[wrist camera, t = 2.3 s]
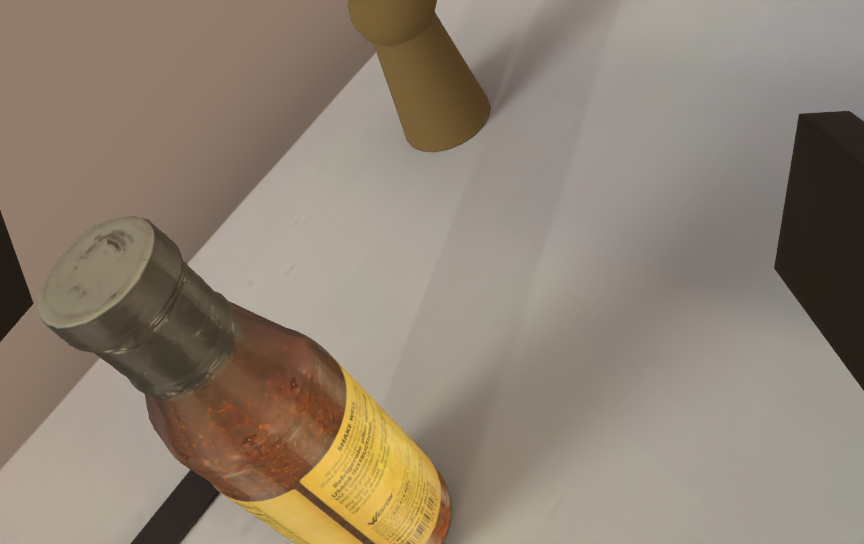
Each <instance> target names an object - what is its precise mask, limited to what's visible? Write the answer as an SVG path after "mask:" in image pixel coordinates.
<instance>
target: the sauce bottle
mask: <svg viewBox="0 0 864 544" xmlns="http://www.w3.org/2000/svg"><path fill="white" fill-rule="evenodd" d="M38 311H39V315H40V318H41V319H42V321H43V322H44V323H45V324H46V326H48V327H49V328H50V329H51V330H52V331H54V332H55V333H56V334H57V335H58V336H59V337H60V338H62V339H63V340H65V341H66V342H67V343H68V344H69V345H70V346H73V347H75V348H77V349H79V350H81V351H88V352H93V353H95V354H96V355H98V356H99V357H100V358H101V359H103V360H104V361H106V362H107V363H109V364H110V365H112V366H113V367H114V368H115V369H116V370H118V371H119V372H120V373H121V374H123V375H125V376H126V377H127V378H128V379H129V380H130V382H131V383H132V385H133V386H134V387H135V388H136V389H138V390H139V391H141V392H143V393H145V398H146V404H147V410H148V413H149V419H150V421H151V423H152V425H153V427H154V429H155V431H156V432H157V433H158V435H159V436H160V438H161V439H162V441H163V442H164V443H165V445H166V446H167V448H168V449H169V451H170V452H171V453H172V455H173V456H174V457H175V458H176V459H177V460H178V461H180V463H181V464H183V465H185V466H186V467H188V468H189V469H190V470H192V471H194V472H195V473H197V474H199V475H200V476H202V477H204V478H205V479H207V480H208V481H210V482H211V483H212V485H213V486H214V487H215V488H216V489H217V490H218V491H219V492H220V493H222V494H223V495H225V496H226V497H228V498H229V499H231V500H232V501H234V502H235V503H237V504H238V505H240V506H241V507H242V508H244V509H245V510H247V511H248V512H250V513H251V514H253V515H254V516H256V517H257V518H259V519H260V520H262V521H263V522H264V523H266V524H267V525H269V526H270V527H272V528H273V529H275V530H276V531H278V532H279V533H281V534H282V535H284V536H285V537H287V538H288V539H290V540H291V541H293V542H294V543H296V544H442V543H443V541H444V539H445V537H446V535H447V531H448V529H449V525H450V516H451V508H450V498H449V493H448V490H447V487H446V484H445V481H444V479H443V477H442V476H441V474H440V473H439V472H438V471H437V470H436V468H435V467H434V465H433V463H432V462H431V460H430V459H429V457H428V456H427V455H426V454H425V453H424V452H423V451H422V450H421V449H420V448H419V446H418V445H417V444H416V443H415V442H414V441H413V440H412V439H411V438H410V437H409V436H408V435H407V434H406V433H405V432H404V431H403V430H402V429H401V428H400V427H399V426H398V425H397V424H396V423H395V422H394V421H393V419H392V418H391V417H390V416H389V415H388V414H387V413H386V412H385V411H384V410H383V409H382V408H381V407H380V406H379V405H378V404H377V403H376V402H375V400H374V399H373V398H372V397H371V396H370V395H369V394H368V393H367V392H366V391H365V390H364V389H363V388H362V387H361V386H360V385H359V384H358V383H357V382H356V381H355V380H354V378H353V377H352V376H351V375H350V374H349V373H348V372H347V371H346V370H345V369H344V368H343V367H342V366H341V365H340V364H339V363H338V362H337V361H336V360H335V359H334V358H333V357H332V356H331V355H330V354H329V353H328V352H327V351H326V350H325V349H324V348H323V347H322V346H320V345H319V344H318V343H316V342H315V341H314V340H312V339H311V338H309V337H307V336H306V335H304V334H301V333H299V332H297V331H295V330H291V329H288V328H285V327H283V326H281V325H279V324H276V323H274V322H272V321H270V320H268V319H266V318H263V317H261V316H259V315H257V314H255V313H253V312H250V311H248V310H246V309H244V308H242V307H240V306H238V305H236V304H233V303H231V302H229V301H227V299H226V298H225V297H224V296H223V295H222V294H220V293H217V292H215V291H213V290H212V288H211V287H210V286H209V285H207V284H206V283H205V281H204V280H203V279H202V278H201V277H200V276H199V275H197V274H196V273H195V272H194V271H193V270H192V269H191V268H190V267H189V266H188V265H187V263H186V262H184V261H183V259H182V257H181V253H180V250H179V248H178V247H177V245H176V244H175V243H174V242H173V241H172V240H171V239H170V238H168V236H167V235H166V234H164V233H163V232H162V231H160V230H159V229H158V228H157V227H156V226H155V225H154V224H152V223H151V222H150V221H149V220H147V219H144V218H140V217H134V216H133V217H123V218H118V219H113V220H108V221H106V222H104V223H101V224H99V225H97V226H94V227H92V228H91V229H89V230H88V231H86V232H85V233H84V234H83V235H81V236H80V237H79V238H77V239H76V240H75V241H74V242H73V243H72V244H71V245H70V246H69V247H68V248H67V250H66V251H65V252H64V253H63V254H62V256H60V257H59V258H58V260H57V261H56V263H55V264H54V266H53V267H52V268H51V270H50V271H49V273H48V275H47V277H46V279H45V281H44V283H43V284H42V286H41V288H40V292H39V298H38Z"/></svg>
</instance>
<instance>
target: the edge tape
mask: <svg viewBox="0 0 864 544" xmlns="http://www.w3.org/2000/svg"><path fill="white" fill-rule="evenodd" d="M218 493H219V491H218V490H217V489H216V488H215V487H214V486H213V485H212V483H211V482H210V481H208V480H207V479H205V478H204V477H202V476H200V475H199V474H197V473H195V472H194V471H192V470H190V471H189V473H188V474H187V475H186V476H185V477H184V479H183V480H182V481H181V482H180V484H179V485H178V486H177V487H176V489H175V490H174V491H173V492H172V493H171V495H170V496H169V497H168V498H167V500H166V501H165V502H164V503H163V505H162V506H161V507H160V508H159V509H158V511H157V512H156V513H155V514H154V516H153V517H152V518H151V519H150V521H149V522H148V523H147V524H146V525H145V527H144V528H143V529H142V530H141V532H140V533H139V534H138V535H137V537H136V538H135V539H134V540H133V541H132V543H131V544H179V543H180V542H181V540H182V539H183V538H184V536H185V535H186V534H187V533H188V531H189V530H190V529H191V528H192V526H193V525H194V524H195V522H196V521H197V520H198V519H199V517H200V516H201V515H202V514H203V512H204V511H205V510H206V509H207V507H208V506H209V505H210V503H211V502H212V501H213V500H214V498H215V497H216V496H217V495H218Z"/></svg>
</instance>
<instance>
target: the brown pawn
mask: <svg viewBox="0 0 864 544" xmlns="http://www.w3.org/2000/svg"><path fill="white" fill-rule="evenodd" d="M436 3H437V1H436V0H349V1H348V7H349V13H350V17H351V21H352V23H353V24H354V26H355V28H356V29H357V30H358V32H359V33H361V35H362V36H363V37H364V38H365V39H366V40H368V41H370V42H372V43H374V46H375V49H376V52H377V55H378V58H379V61H380V64H381V66H382V69H383V72H384V75H385V78H386V81H387V84H388V87H389V90H390V92H391V95H392V98H393V101H394V104H395V107H396V110H397V113H398V116H399V118H400V121H401V124H402V127H403V130H404V133H405V136H406V139H407V141H408V142H409V143H410V144H411V146H412V147H414V148H416V149H419V150H421V151H429V152H436V151H441V150H447V149H450V148H452V147H455V146H457V145H460V144H462V143H463V142H465V141H466V140H468V139H469V138H471V137H472V136H474V135H475V134H476V133H477V132H478V131H479V130H480V129H481V128H482V127H483V125H484V123H485V122H486V120H487V118H488V116H489V111H490V104H489V101H488V98H487V97H486V95H485V93H484V92H483V90H482V88H481V87H480V85H479V83H478V82H477V80H476V79H475V77H474V75H473V74H472V72H471V70H470V69H469V67H468V66H467V64H466V62H465V61H464V59H463V57H462V56H461V54H460V53H459V51H458V49H457V48H456V46H455V44H454V43H453V41H452V39H451V38H450V36H449V35H448V33H447V31H446V30H445V28H444V26H443V25H442V23H441V22H440V20H439V18H438V17H437V15H436V13H435V12H434V11H435V7H436Z"/></svg>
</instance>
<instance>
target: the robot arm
mask: <svg viewBox="0 0 864 544" xmlns="http://www.w3.org/2000/svg"><path fill="white" fill-rule="evenodd" d="M774 269H775V270H776V271H777V273H778V274H779V276H780V277H781V278H782V280H783V281H784V282H785V284H786V285H787V287H788V288H789V289H790V291H791V292H792V293H793V295H794V296H795V297H796V299H797V300H798V302H799V303H800V304H801V306H802V307H803V308H804V310H805V311H806V312H807V314H808V315H809V317H810V318H811V319H812V321H813V322H814V323H815V325H816V326H817V327H818V329H819V330H820V332H821V333H822V334H823V336H824V337H825V338H826V340H827V341H828V343H829V344H830V345H831V347H832V348H833V349H834V351H835V352H836V353H837V355H838V356H839V358H840V359H841V360H842V362H843V363H844V364H845V366H846V367H847V368H848V370H849V371H850V373H851V374H852V375H853V377H854V378H855V379H856V381H857V382H858V383H859V385H860V386H861V388H862V389H863V390H864V121H862V120H861V119H860V118H858V117H857V116H856V115H854V114H853V113H851V112H850V111H841V112H823V113H806V114H799V118H798V124H797V130H796V136H795V143H794V149H793V155H792V161H791V167H790V174H789V180H788V186H787V192H786V198H785V204H784V211H783V217H782V223H781V229H780V235H779V242H778V248H777V254H776V260H775V266H774ZM32 305H33V301H32V298H31V295H30V292H29V289H28V287H27V284H26V281H25V279H24V276H23V273H22V270H21V267H20V264H19V261H18V259H17V256H16V253H15V250H14V248H13V245H12V242H11V239H10V236H9V233H8V231H7V228H6V225H5V222H4V220H3V217H2V214H1V211H0V342H1V340H2V339H3V338H4V337H5V336H6V335H7V334H8V332H9V331H10V330H11V329H12V328H13V327H14V325H15V324H16V323H17V322H18V321H19V320H20V318H21V317H22V316H23V315H24V314H25V312H27V310H28V309H29V308H30V307H31V306H32Z"/></svg>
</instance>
